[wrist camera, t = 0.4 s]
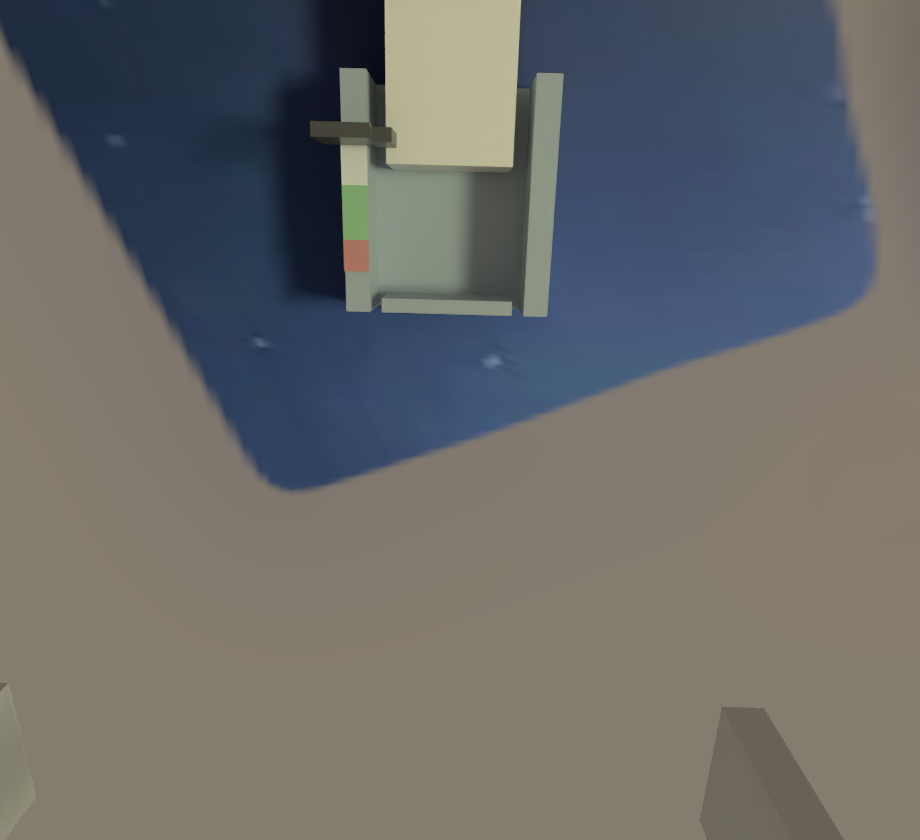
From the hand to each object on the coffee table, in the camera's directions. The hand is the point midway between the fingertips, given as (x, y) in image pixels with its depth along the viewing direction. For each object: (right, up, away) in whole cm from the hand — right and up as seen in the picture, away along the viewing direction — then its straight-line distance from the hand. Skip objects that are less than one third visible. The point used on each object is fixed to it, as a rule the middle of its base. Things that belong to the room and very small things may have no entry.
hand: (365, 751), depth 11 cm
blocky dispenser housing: (0, +23, +19) cm, 30 cm away
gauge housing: (+1, +18, +22) cm, 29 cm away
